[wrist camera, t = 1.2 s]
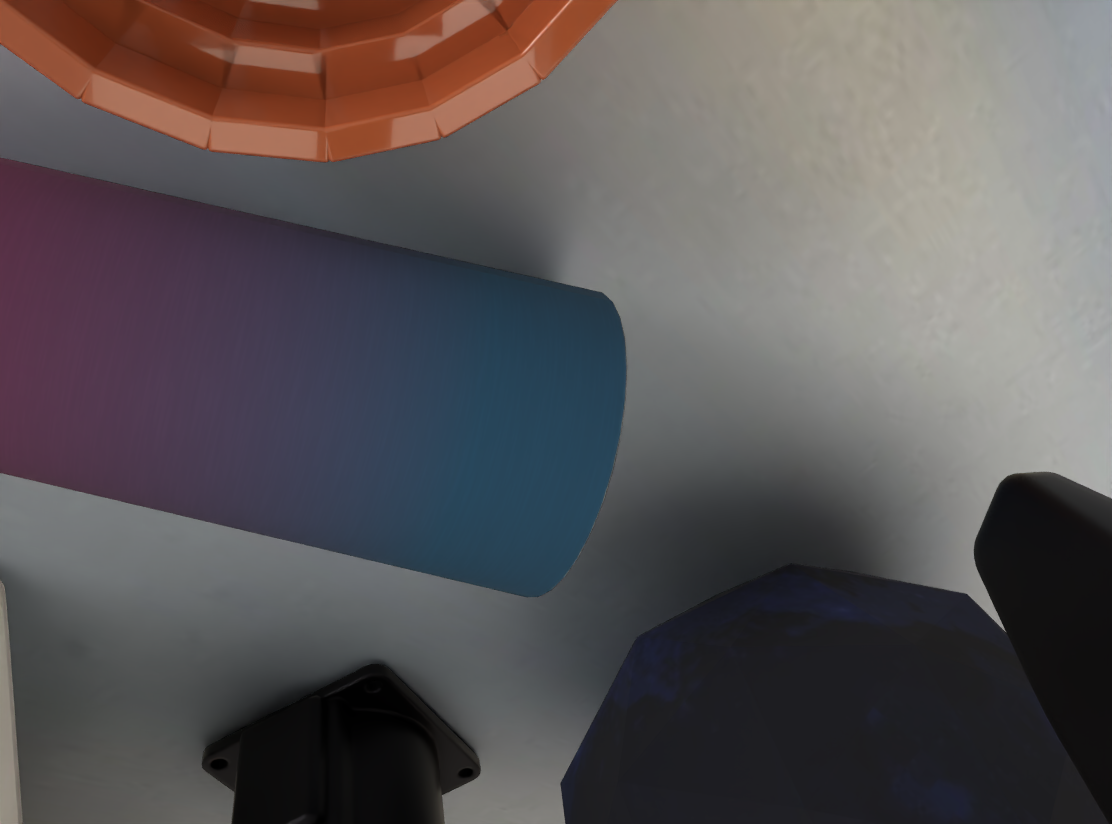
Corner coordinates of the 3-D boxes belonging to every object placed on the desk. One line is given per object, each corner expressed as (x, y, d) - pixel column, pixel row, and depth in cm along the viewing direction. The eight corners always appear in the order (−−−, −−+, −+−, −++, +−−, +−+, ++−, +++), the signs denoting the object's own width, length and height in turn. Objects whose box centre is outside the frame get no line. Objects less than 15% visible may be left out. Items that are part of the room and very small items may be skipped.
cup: (-181, 349, 20) (486, 488, 25) (-403, 535, 14) (532, 667, 19) (-164, 23, 17) (577, 250, 22) (-427, 78, 11) (663, 371, 16)
